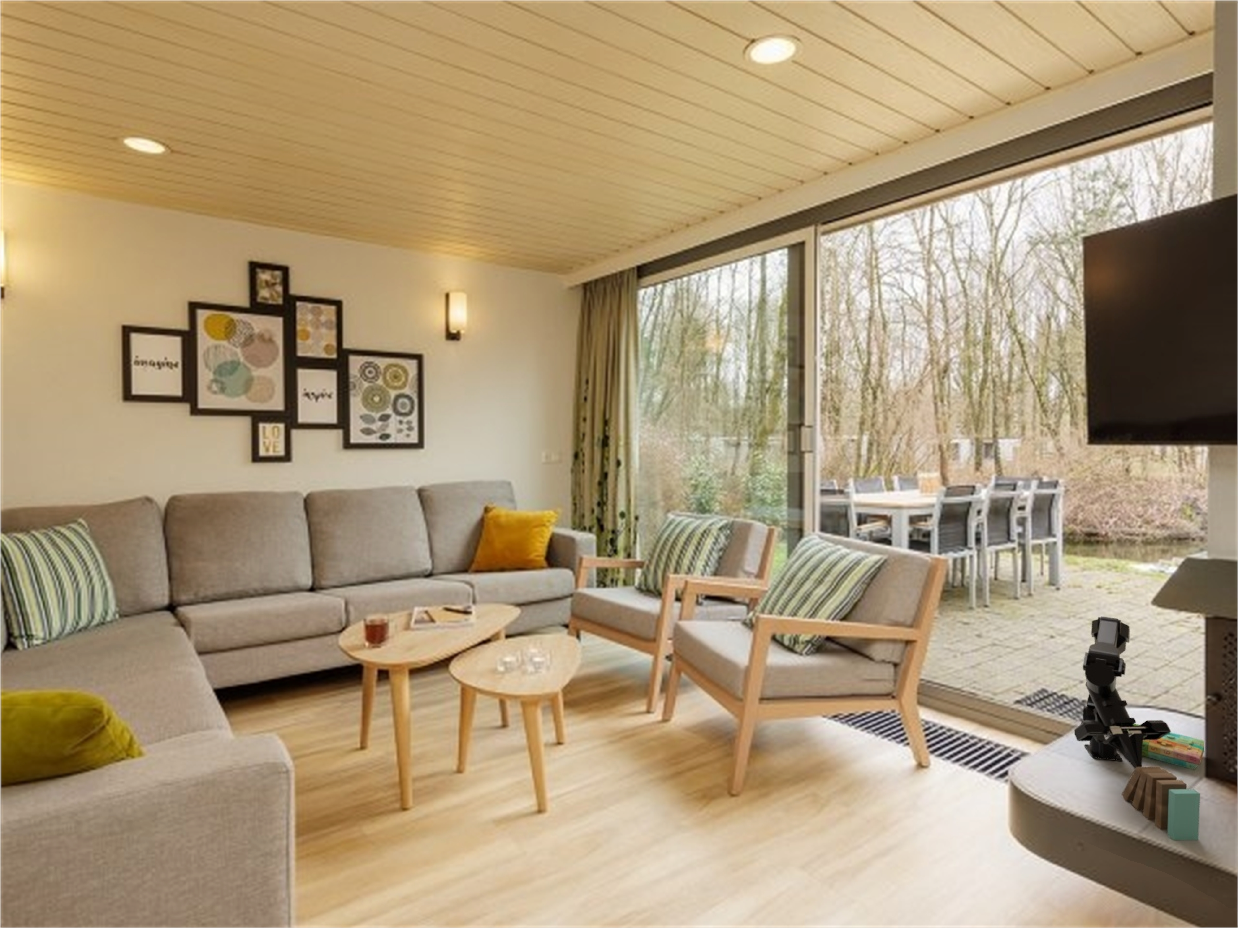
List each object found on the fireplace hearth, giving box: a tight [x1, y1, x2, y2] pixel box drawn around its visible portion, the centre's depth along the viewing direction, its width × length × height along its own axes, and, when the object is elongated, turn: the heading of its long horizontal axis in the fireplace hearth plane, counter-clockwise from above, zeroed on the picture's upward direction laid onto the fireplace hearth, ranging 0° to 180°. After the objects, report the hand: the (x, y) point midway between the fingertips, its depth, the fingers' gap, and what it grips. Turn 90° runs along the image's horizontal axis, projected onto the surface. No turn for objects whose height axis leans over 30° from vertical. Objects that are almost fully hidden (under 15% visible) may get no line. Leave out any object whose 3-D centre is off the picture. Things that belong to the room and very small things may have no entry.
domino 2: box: [1131, 768, 1170, 811], centre depth 151 cm, size 2×5×10 cm, turn 88°
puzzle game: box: [1127, 723, 1205, 771], centre depth 177 cm, size 12×5×20 cm
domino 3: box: [1142, 772, 1178, 821], centre depth 149 cm, size 2×5×10 cm, turn 88°
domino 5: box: [1166, 788, 1201, 841], centre depth 142 cm, size 2×5×10 cm, turn 88°
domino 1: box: [1121, 766, 1162, 802], centre depth 154 cm, size 2×5×10 cm, turn 89°
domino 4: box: [1154, 779, 1188, 831], centre depth 146 cm, size 2×5×10 cm, turn 88°
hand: (1138, 769), depth 155 cm, fingers closed
